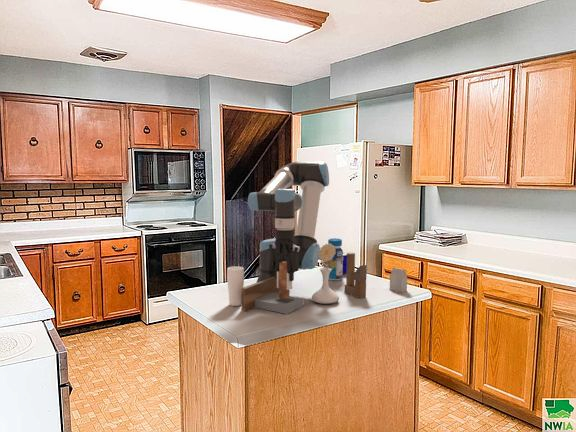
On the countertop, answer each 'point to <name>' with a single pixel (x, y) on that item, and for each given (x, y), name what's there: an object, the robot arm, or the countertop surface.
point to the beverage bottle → (336, 260)
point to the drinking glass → (235, 284)
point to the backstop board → (257, 292)
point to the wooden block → (355, 278)
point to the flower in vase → (326, 276)
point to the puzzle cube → (343, 264)
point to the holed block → (278, 303)
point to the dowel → (283, 280)
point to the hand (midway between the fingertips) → (284, 288)
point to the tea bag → (398, 280)
